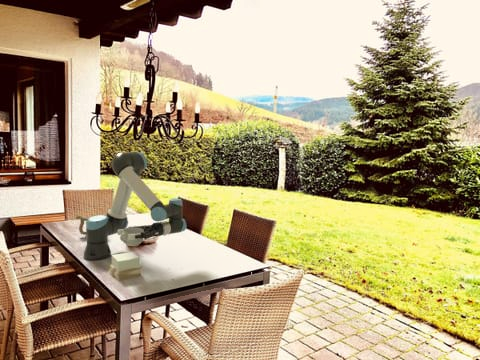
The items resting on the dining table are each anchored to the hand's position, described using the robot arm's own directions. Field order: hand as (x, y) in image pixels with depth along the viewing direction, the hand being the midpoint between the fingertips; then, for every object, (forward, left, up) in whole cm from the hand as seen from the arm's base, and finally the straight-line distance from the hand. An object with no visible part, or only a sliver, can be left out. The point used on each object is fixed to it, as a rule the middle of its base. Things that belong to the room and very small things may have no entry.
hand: (123, 235), depth 197 cm
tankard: (-77, +14, -22) cm, 82 cm away
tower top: (-1, +2, -17) cm, 17 cm away
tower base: (-2, +2, -22) cm, 22 cm away
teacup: (0, +4, -6) cm, 7 cm away
